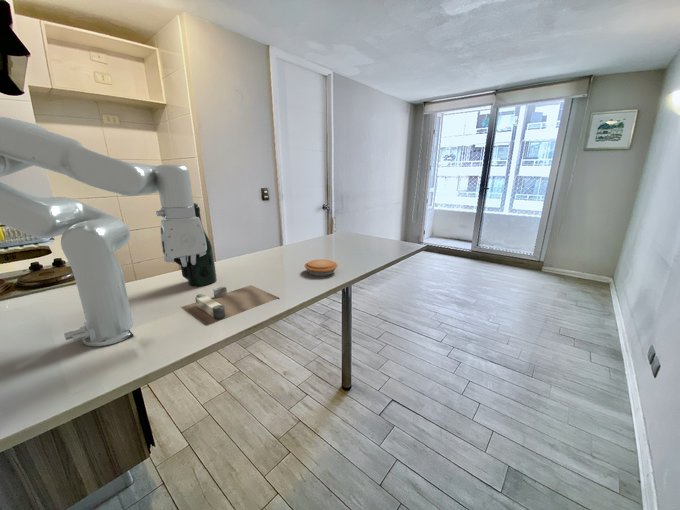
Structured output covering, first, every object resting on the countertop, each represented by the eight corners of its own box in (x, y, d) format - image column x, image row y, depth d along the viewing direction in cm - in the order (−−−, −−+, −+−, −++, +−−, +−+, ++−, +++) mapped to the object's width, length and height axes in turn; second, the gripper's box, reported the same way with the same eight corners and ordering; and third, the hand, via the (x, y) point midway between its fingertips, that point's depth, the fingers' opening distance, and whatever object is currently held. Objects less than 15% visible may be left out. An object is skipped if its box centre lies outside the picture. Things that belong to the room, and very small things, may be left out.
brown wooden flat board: (206, 330, 80) (204, 316, 79) (181, 311, 92) (179, 298, 90) (279, 301, 99) (279, 289, 98) (251, 288, 111) (250, 278, 109)
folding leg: (194, 305, 92) (193, 295, 91) (204, 302, 94) (203, 292, 93) (216, 320, 83) (215, 309, 82) (227, 316, 85) (226, 306, 84)
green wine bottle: (205, 279, 120) (195, 201, 111) (222, 283, 116) (214, 202, 107) (182, 287, 111) (170, 203, 102) (201, 292, 107) (189, 205, 98)
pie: (300, 269, 134) (299, 259, 133) (329, 265, 141) (329, 256, 139) (310, 280, 121) (310, 269, 120) (343, 275, 127) (343, 264, 126)
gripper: (151, 217, 66) (165, 289, 71) (213, 211, 77) (221, 274, 82) (142, 215, 71) (155, 282, 76) (201, 209, 82) (209, 269, 87)
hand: (189, 278), depth 79 cm, fingers closed
